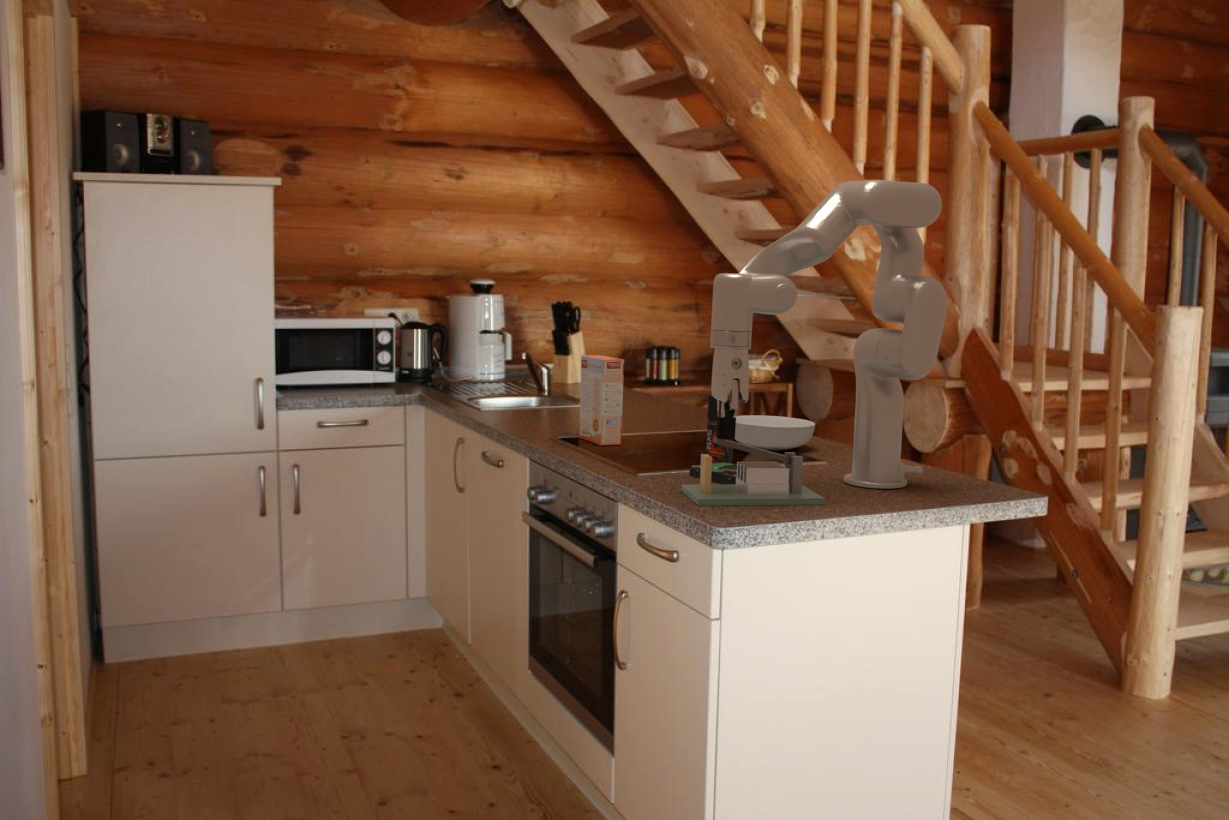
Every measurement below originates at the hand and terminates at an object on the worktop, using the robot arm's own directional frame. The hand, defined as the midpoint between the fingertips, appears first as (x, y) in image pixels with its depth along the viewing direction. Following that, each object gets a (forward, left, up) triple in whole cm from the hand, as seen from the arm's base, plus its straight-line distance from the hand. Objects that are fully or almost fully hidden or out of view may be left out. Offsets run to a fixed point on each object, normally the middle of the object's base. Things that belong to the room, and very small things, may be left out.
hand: (725, 438), depth 219 cm
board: (-6, 0, -11) cm, 13 cm away
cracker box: (+12, -69, -12) cm, 71 cm away
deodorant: (-10, -39, -12) cm, 42 cm away
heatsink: (-8, 0, -10) cm, 13 cm away
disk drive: (-7, -19, -12) cm, 24 cm away
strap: (-6, 0, -3) cm, 7 cm away
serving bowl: (-28, -59, -12) cm, 66 cm away
